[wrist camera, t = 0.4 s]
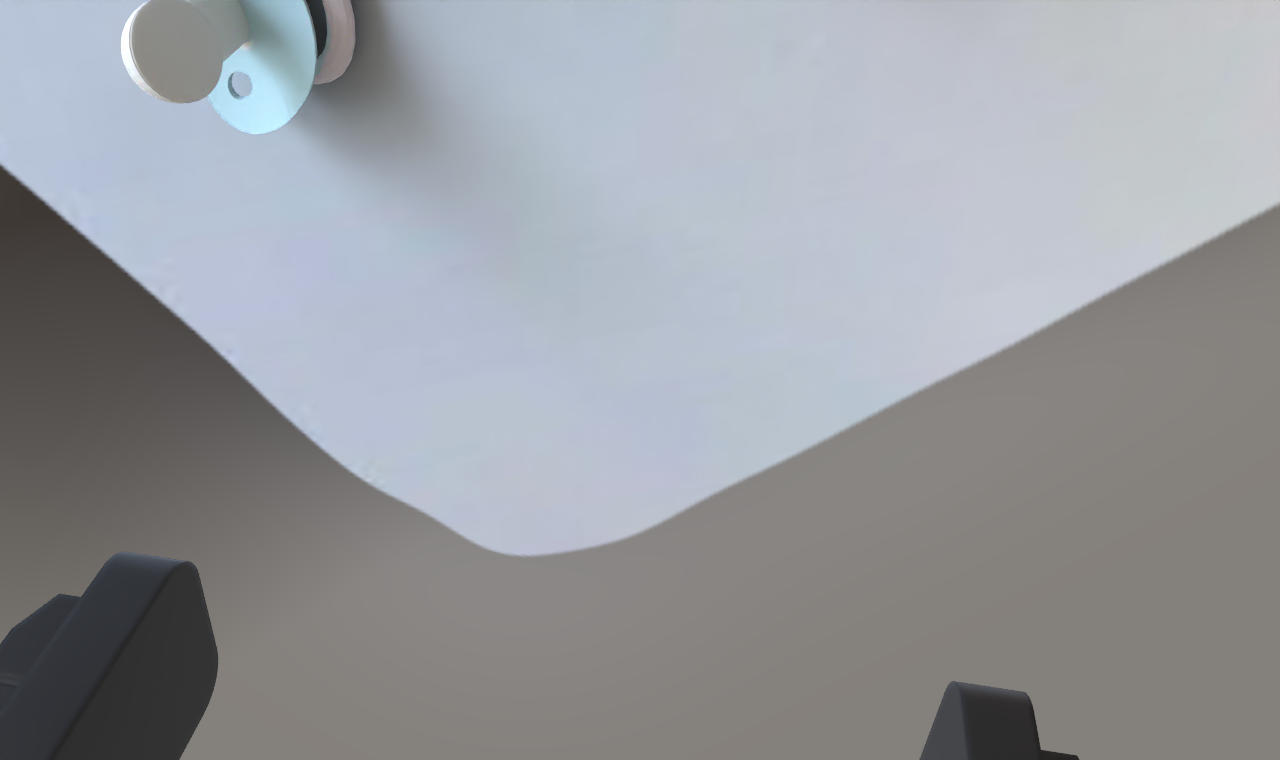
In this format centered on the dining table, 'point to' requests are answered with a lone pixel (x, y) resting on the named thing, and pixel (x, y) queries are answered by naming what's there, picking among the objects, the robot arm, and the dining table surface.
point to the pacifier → (237, 54)
